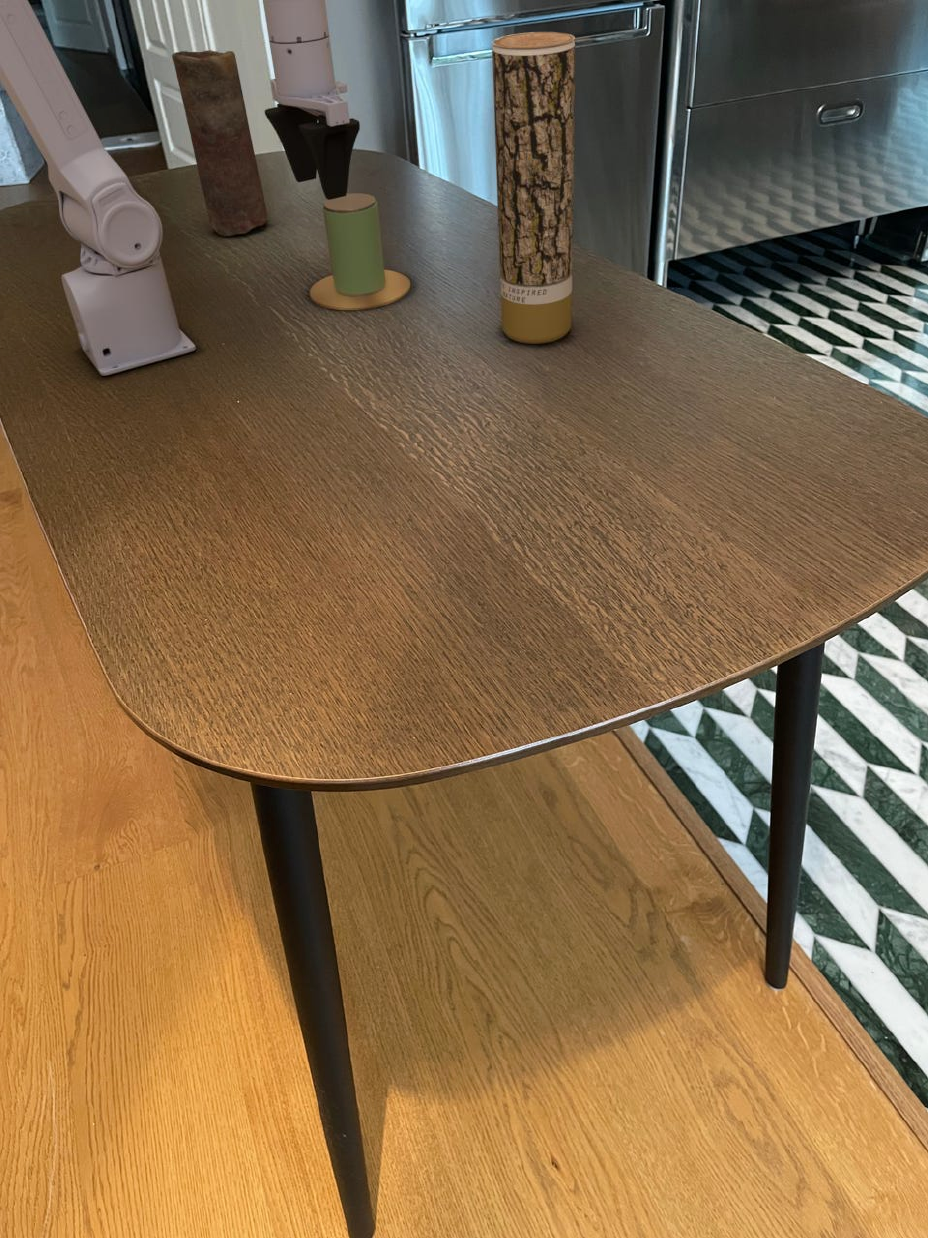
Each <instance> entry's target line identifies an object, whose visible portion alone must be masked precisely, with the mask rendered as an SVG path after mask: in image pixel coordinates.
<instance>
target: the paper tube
mask: <svg viewBox="0 0 928 1238" xmlns="http://www.w3.org/2000/svg"><path fill="white" fill-rule="evenodd" d="M575 39H576V37H575V36H574V35H573V34H570V33H567V32H559V31H531V32H519V33H512V34H508V35H503V36H500V37H497V38H495V39H493V40H492V42H491V43H492V48H491V57H492V58H491V60H492V61H491V62H492V88H493V91H492V93H493V117H494V144H495V145H494V146H495V147H494V148H495V173H496V177H495V178H496V197H497V198H496V201H497V202H496V204H497V205H496V206H497V230H498V231H497V233H498V258H499V285H500V286H499V287H500V288H499V289H500V308H501V309H500V311H501V328H502V331H503V333H504V334H505V336H506V337H507V338H508V339H511V340H512V341H515V342H517V343H521V344H529V345H542V344H548V343H552V342H556V341H557V340H558V341H559V340H560V339H562V338H563V337H565V336H566V335H567V334H568V332H569V331H570V329H571V327H572V308H573V307H572V305H573V304H572V301H573V300H572V299H573V295H572V294H573V293H572V292H573V253H574V252H573V245H574V244H573V243H574V237H573V236H574V177H575V176H574V171H575V168H574V166H575V165H574V164H575V163H574V162H575V98H576V97H575V95H576V94H575V91H576V89H575V88H576V43H575Z"/></svg>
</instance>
